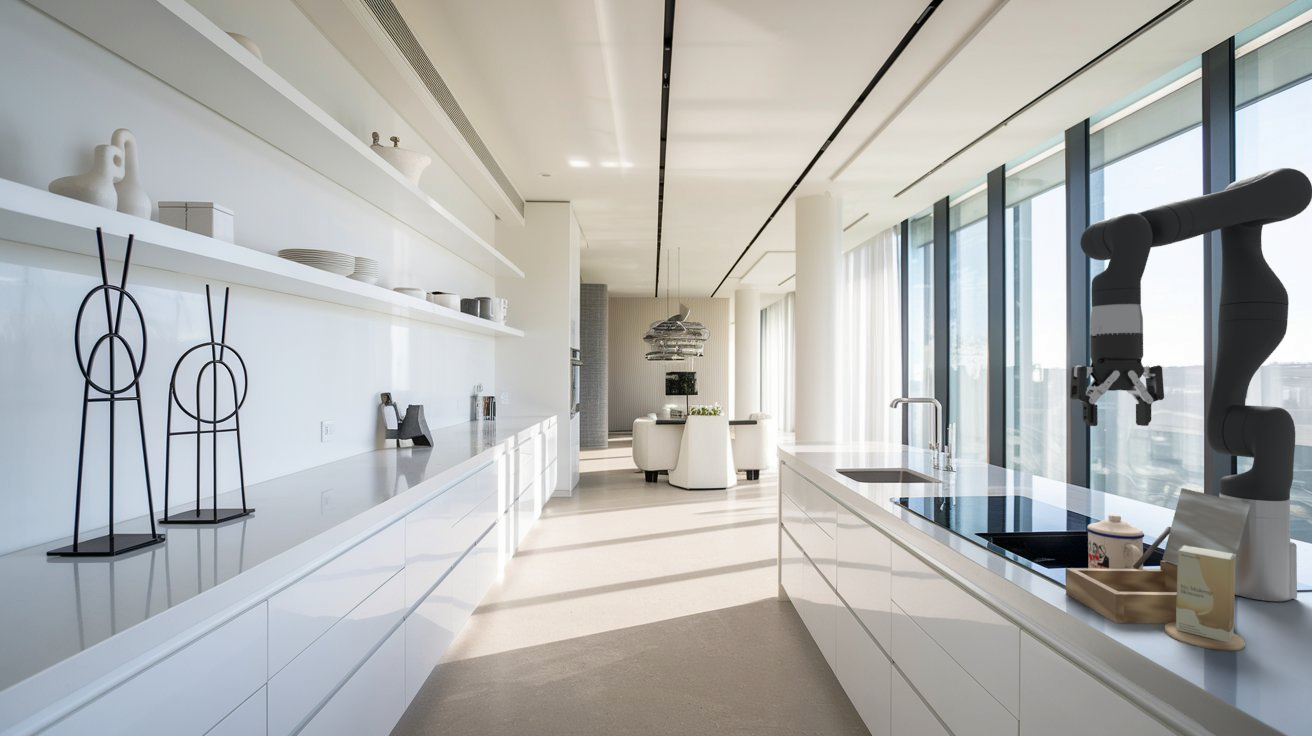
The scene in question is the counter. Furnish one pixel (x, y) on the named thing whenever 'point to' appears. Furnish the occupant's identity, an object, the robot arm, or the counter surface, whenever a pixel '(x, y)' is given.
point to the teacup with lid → (1114, 544)
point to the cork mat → (1204, 639)
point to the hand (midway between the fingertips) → (1116, 425)
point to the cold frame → (1161, 562)
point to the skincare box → (1205, 593)
